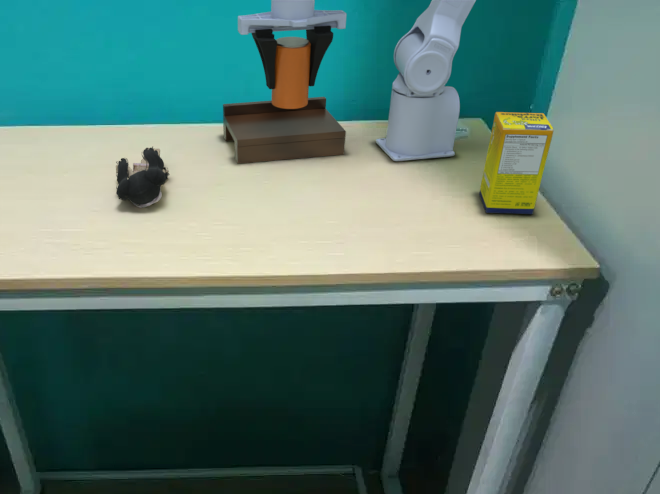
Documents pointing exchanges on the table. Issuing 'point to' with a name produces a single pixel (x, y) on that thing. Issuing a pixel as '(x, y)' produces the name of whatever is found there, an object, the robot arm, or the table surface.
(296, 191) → the table surface
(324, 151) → the shelf
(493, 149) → the supplement box
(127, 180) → the toy figure
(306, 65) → the can
